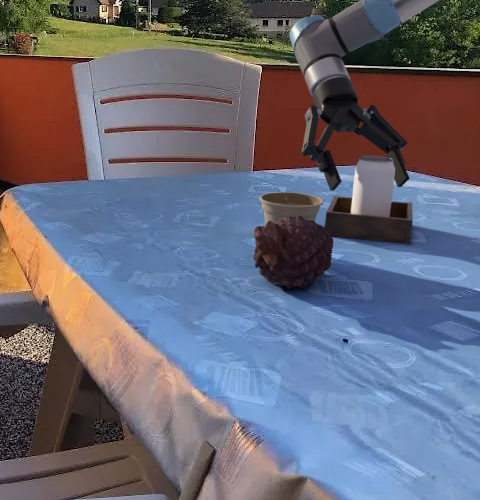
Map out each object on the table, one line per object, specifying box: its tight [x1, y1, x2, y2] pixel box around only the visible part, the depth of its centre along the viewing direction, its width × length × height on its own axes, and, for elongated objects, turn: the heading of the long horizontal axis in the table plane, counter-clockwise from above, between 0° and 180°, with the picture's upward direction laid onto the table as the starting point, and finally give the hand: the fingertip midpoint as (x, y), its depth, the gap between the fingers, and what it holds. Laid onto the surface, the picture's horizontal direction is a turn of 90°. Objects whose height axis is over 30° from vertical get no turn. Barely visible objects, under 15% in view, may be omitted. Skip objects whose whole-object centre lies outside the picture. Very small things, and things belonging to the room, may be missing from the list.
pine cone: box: [253, 216, 334, 290], centre depth 95 cm, size 18×10×10 cm
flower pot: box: [259, 191, 324, 225], centre depth 108 cm, size 9×9×9 cm
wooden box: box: [324, 195, 414, 245], centre depth 123 cm, size 14×14×4 cm
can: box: [351, 155, 395, 217], centre depth 122 cm, size 6×6×12 cm
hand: (370, 184), depth 122 cm, fingers open, 13 cm apart
